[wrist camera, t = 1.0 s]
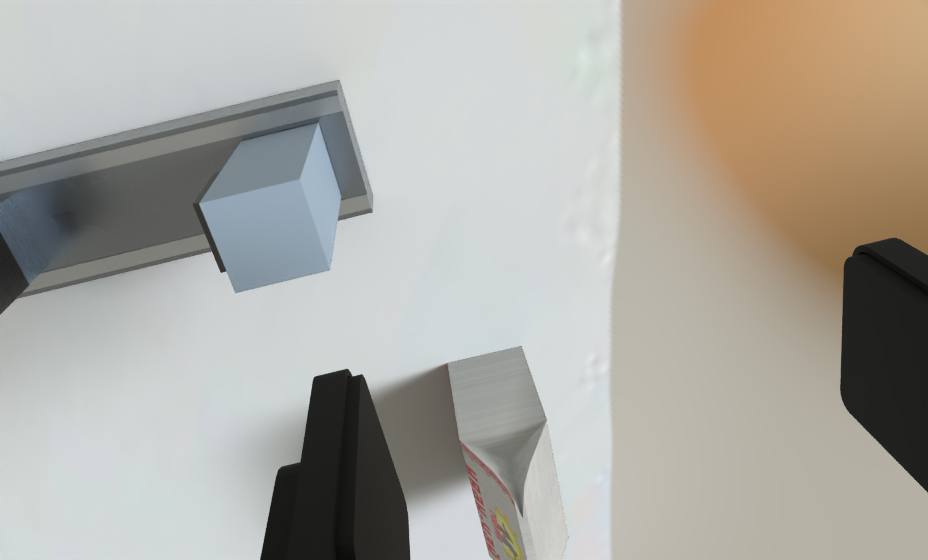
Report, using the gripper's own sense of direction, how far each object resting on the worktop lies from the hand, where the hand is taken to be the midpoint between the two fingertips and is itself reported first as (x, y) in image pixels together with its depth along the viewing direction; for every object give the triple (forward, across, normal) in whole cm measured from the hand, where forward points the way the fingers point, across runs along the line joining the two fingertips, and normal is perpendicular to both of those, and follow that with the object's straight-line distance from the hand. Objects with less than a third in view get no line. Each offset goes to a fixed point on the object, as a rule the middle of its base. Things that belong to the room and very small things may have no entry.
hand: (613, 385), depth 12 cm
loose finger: (+18, +8, 0) cm, 19 cm away
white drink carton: (+20, +2, +15) cm, 25 cm away
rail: (+20, +13, 0) cm, 24 cm away
